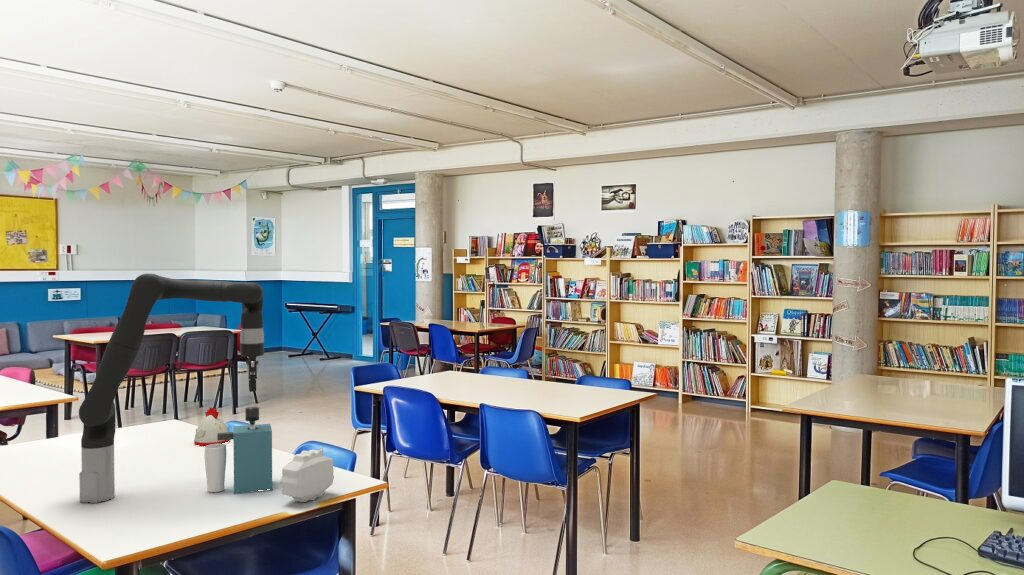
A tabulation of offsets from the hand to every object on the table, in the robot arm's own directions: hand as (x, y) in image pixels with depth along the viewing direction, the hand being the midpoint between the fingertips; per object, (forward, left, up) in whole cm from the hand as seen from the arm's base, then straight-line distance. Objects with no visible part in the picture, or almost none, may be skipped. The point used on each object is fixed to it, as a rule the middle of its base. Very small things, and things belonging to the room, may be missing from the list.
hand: (252, 389), depth 252 cm
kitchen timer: (+56, +51, -34) cm, 83 cm away
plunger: (0, 0, -21) cm, 21 cm away
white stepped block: (-9, -24, -33) cm, 42 cm away
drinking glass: (-6, +10, -33) cm, 35 cm away
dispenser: (-1, +2, -33) cm, 33 cm away
